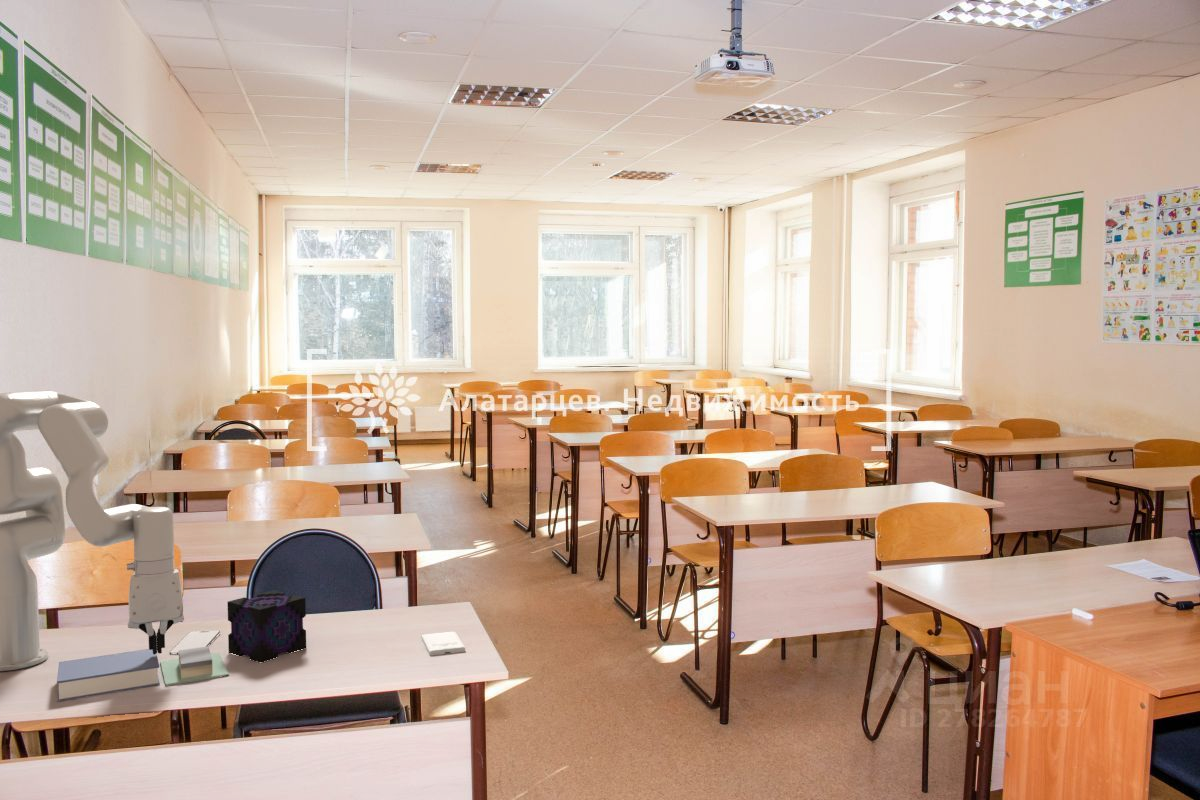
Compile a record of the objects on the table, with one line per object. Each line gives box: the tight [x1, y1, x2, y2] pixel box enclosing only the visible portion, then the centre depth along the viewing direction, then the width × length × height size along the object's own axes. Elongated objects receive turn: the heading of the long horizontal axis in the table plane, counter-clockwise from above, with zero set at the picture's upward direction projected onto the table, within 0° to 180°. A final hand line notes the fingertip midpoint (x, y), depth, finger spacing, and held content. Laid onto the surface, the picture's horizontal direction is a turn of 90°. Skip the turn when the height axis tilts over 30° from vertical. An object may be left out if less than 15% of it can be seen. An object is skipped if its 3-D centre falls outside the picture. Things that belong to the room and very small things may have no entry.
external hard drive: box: [421, 631, 466, 656], centre depth 209 cm, size 2×8×12 cm
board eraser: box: [178, 645, 213, 678], centre depth 192 cm, size 10×6×3 cm, turn 28°
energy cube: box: [227, 589, 307, 663], centre depth 205 cm, size 12×12×12 cm
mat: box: [160, 652, 229, 687], centre depth 193 cm, size 16×12×1 cm
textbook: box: [56, 648, 161, 702], centre depth 185 cm, size 13×18×4 cm
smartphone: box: [169, 629, 221, 654], centre depth 211 cm, size 7×1×15 cm
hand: (157, 651), depth 190 cm, fingers closed
